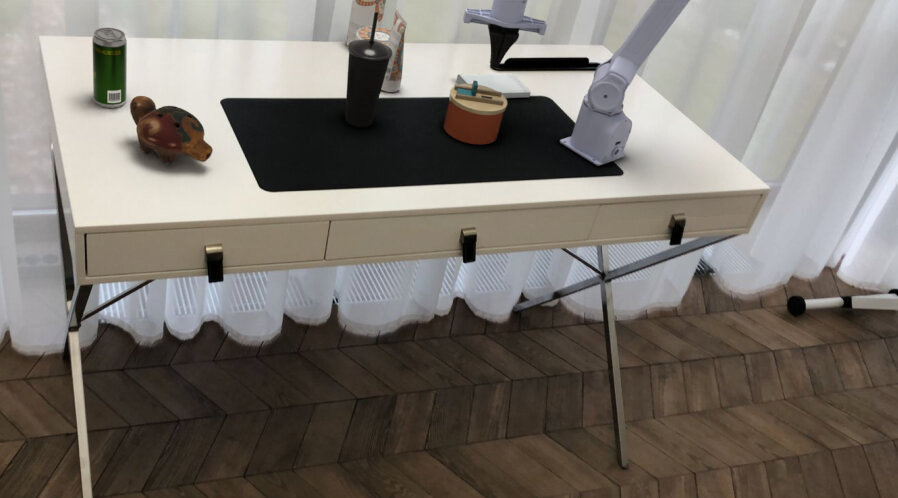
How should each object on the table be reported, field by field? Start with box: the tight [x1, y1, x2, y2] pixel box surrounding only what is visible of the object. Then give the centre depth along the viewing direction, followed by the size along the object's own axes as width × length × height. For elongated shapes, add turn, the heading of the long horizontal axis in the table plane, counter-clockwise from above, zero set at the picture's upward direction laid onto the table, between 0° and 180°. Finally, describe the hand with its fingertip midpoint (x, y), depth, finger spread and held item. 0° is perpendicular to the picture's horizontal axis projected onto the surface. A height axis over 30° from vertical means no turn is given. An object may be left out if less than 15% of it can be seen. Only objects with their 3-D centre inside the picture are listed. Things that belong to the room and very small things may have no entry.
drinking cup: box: [344, 12, 393, 128], centre depth 167 cm, size 8×8×20 cm
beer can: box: [91, 27, 128, 109], centre depth 161 cm, size 5×5×12 cm
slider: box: [457, 81, 478, 96], centre depth 172 cm, size 3×2×2 cm
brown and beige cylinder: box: [443, 83, 508, 146], centre depth 175 cm, size 10×10×8 cm
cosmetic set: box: [346, 0, 408, 93], centre depth 187 cm, size 25×9×19 cm, turn 18°
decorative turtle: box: [129, 95, 214, 165], centre depth 152 cm, size 10×15×8 cm, turn 68°
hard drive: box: [456, 73, 532, 99], centre depth 192 cm, size 2×8×12 cm
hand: (494, 65), depth 176 cm, fingers closed
